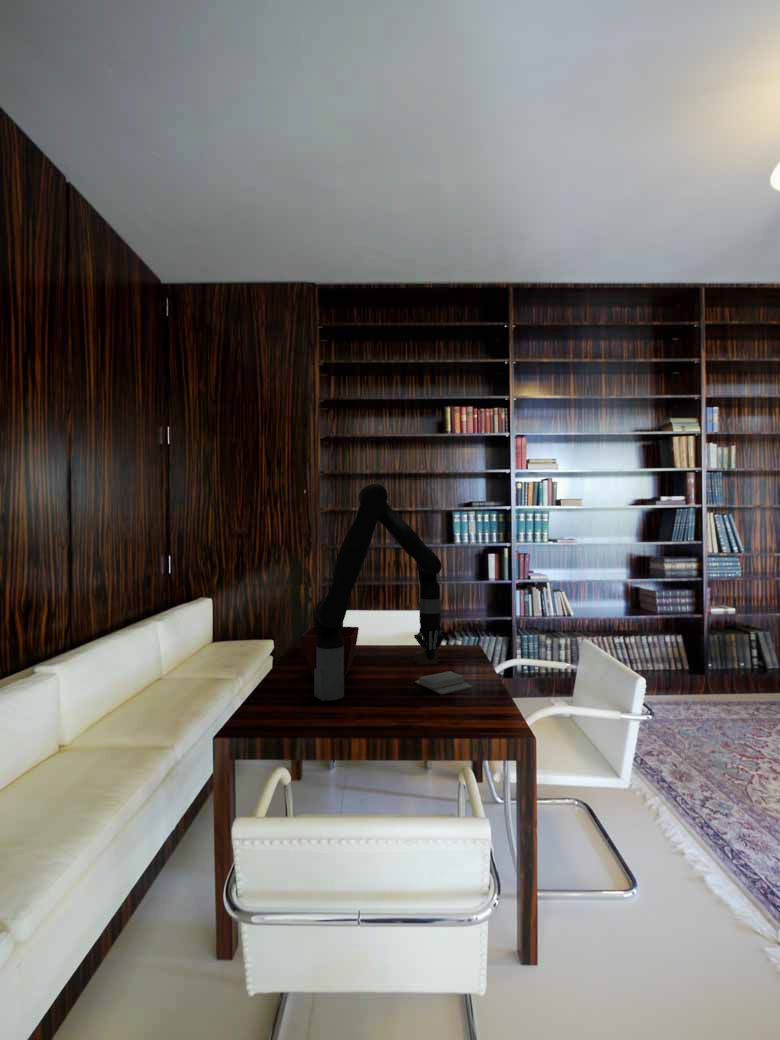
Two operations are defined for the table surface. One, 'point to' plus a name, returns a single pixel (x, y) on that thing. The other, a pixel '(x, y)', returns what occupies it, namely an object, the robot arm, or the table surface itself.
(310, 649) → the plant pot
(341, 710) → the table surface
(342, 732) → the table surface
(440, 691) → the felt pad
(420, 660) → the wooden block
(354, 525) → the robot arm
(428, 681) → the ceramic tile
